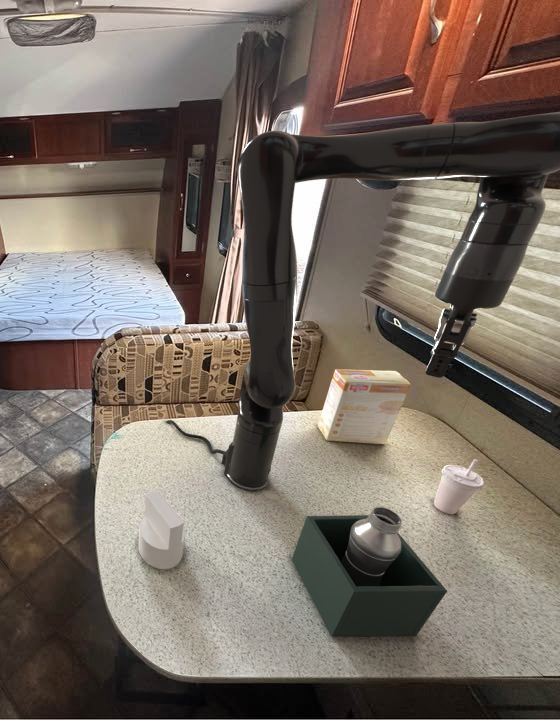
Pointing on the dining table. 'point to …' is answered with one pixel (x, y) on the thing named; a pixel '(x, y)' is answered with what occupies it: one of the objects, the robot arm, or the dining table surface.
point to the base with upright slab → (161, 533)
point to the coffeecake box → (362, 405)
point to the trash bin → (363, 603)
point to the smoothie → (457, 487)
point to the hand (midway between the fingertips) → (435, 366)
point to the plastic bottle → (372, 547)
